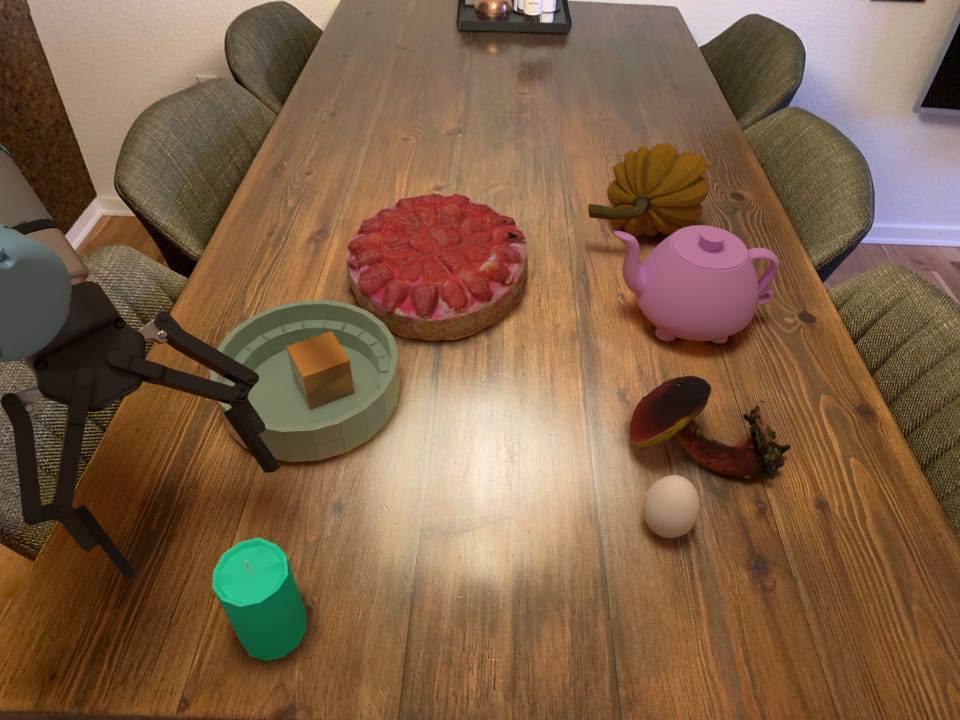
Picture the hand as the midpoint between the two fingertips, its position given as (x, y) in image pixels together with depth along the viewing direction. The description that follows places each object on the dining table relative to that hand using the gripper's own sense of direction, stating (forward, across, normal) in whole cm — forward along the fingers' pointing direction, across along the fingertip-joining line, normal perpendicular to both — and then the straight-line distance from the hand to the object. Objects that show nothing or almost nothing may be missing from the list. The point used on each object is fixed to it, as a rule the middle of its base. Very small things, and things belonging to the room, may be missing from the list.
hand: (205, 519), depth 59 cm
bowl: (-2, -20, -17) cm, 27 cm away
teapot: (+16, -62, 0) cm, 64 cm away
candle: (+12, 0, -4) cm, 13 cm away
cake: (-4, -46, -20) cm, 50 cm away
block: (-2, -21, -16) cm, 27 cm away
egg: (+27, -33, +11) cm, 44 cm away
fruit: (+5, -77, -11) cm, 78 cm away
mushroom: (+25, -45, +9) cm, 53 cm away
